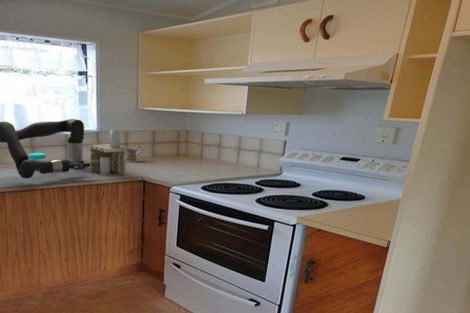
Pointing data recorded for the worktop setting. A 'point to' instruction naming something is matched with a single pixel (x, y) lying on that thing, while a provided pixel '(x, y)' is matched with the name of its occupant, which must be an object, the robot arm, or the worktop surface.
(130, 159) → the mug
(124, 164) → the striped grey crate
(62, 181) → the worktop surface
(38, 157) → the teal spool
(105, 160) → the grey-green short column
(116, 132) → the pale grey cylinder
